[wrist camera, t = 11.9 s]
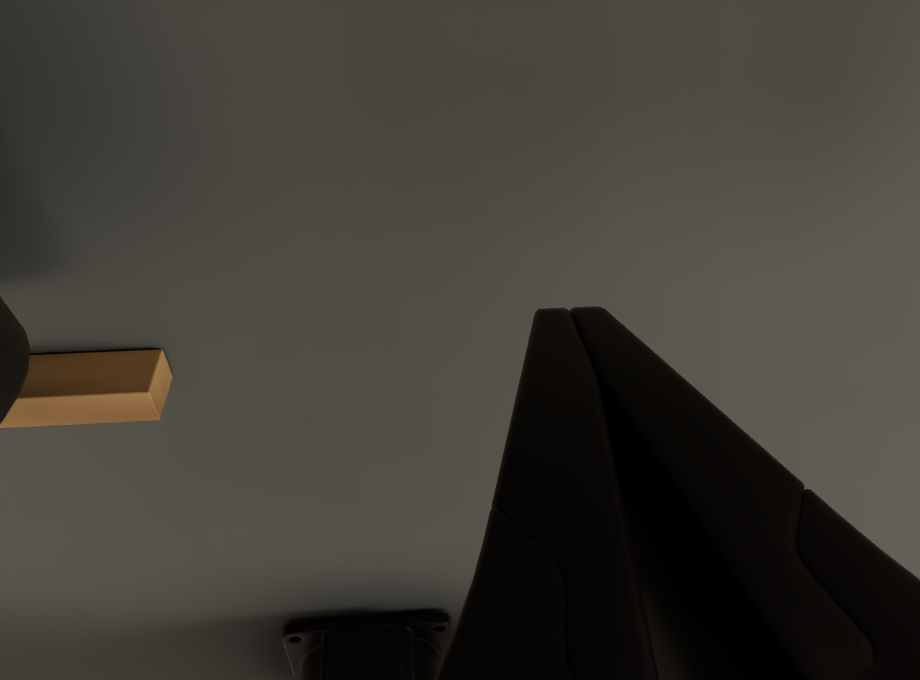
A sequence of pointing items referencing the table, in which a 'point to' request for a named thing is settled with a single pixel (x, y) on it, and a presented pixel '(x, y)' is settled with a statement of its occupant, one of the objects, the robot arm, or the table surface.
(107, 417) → the brown flat block
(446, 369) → the table surface
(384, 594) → the table surface
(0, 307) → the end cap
